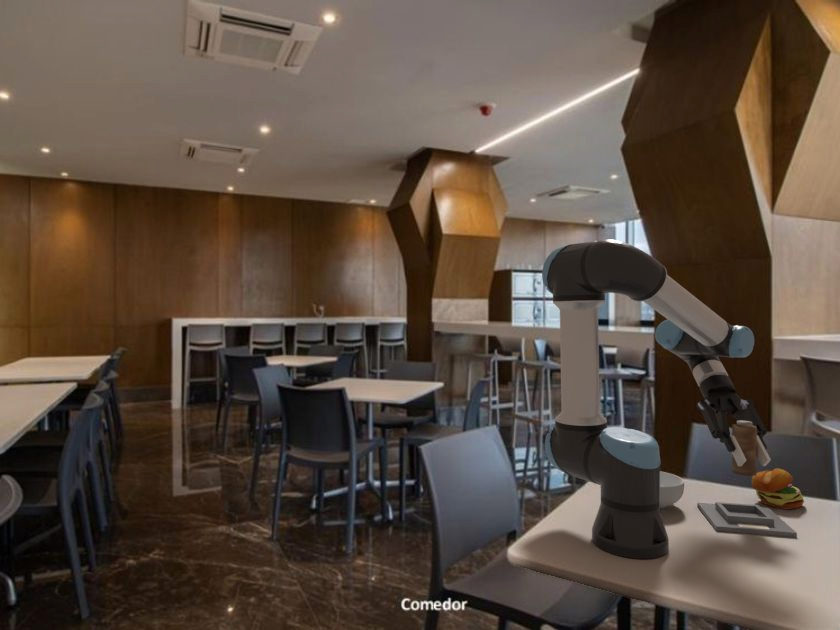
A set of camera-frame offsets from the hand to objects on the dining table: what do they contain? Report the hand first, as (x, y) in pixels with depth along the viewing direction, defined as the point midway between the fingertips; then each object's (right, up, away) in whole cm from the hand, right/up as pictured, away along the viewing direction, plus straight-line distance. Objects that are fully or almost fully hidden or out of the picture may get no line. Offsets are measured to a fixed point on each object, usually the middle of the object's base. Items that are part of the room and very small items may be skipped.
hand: (754, 463), depth 126 cm
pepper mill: (0, -3, +4) cm, 5 cm away
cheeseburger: (+15, -15, +15) cm, 26 cm away
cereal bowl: (-18, -15, +15) cm, 28 cm away
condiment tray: (0, -15, +4) cm, 15 cm away
